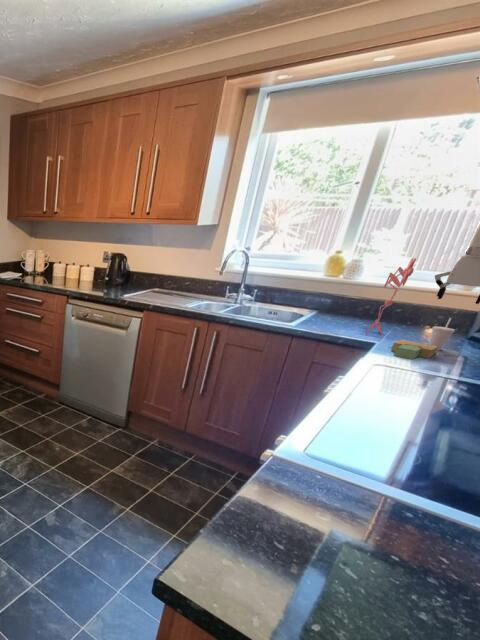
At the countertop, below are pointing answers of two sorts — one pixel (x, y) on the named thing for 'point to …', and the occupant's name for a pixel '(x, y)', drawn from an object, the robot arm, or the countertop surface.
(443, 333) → the smoothie
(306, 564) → the countertop surface
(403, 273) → the figurine
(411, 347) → the green pad
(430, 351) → the sand pad
